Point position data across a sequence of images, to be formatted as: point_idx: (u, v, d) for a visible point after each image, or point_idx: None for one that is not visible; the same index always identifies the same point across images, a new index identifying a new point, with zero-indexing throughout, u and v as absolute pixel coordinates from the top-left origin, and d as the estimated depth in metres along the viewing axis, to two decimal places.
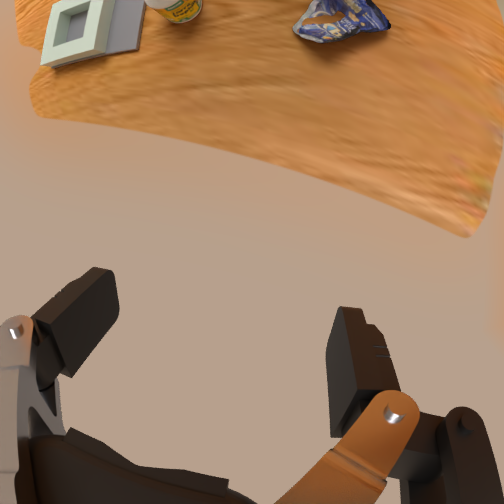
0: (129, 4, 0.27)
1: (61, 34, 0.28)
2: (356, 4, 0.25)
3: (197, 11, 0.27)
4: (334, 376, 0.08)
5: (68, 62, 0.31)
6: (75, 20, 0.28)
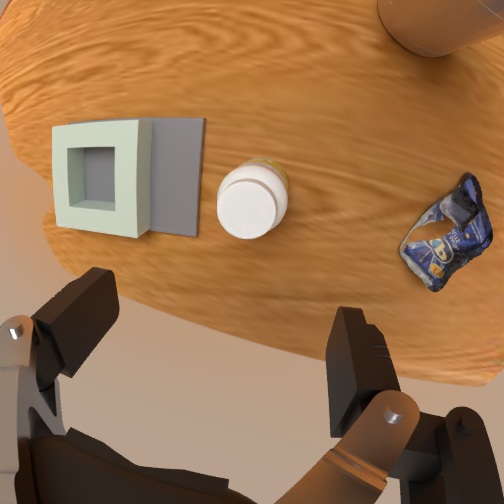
0: (176, 157, 0.27)
1: (76, 181, 0.28)
2: None
3: None
4: (334, 376, 0.08)
5: None
6: (92, 156, 0.28)
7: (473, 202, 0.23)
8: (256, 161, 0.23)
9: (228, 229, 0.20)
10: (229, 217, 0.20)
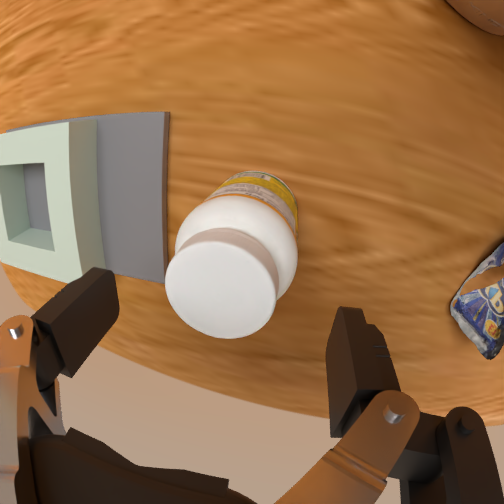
0: (129, 173, 0.18)
1: (15, 206, 0.19)
2: None
3: None
4: (334, 376, 0.08)
5: None
6: (31, 172, 0.19)
7: None
8: (244, 183, 0.14)
9: (189, 322, 0.11)
10: (188, 303, 0.10)
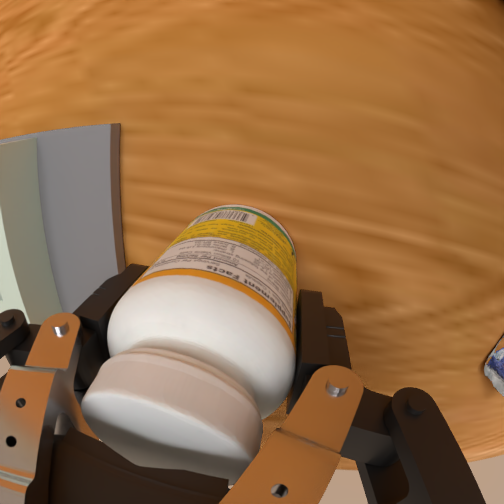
0: (74, 207, 0.13)
1: None
2: None
3: None
4: None
5: None
6: None
7: None
8: (211, 236, 0.09)
9: (132, 462, 0.06)
10: (124, 448, 0.05)
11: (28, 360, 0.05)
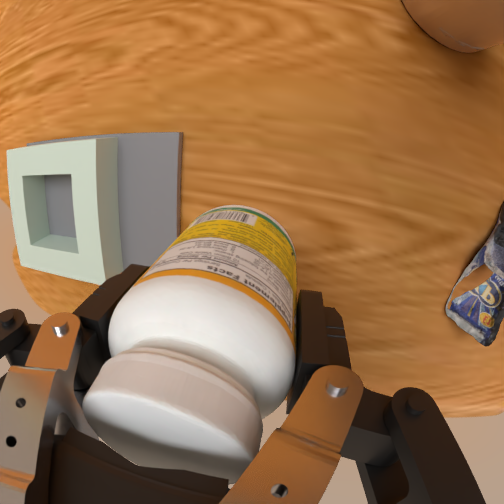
0: (147, 184, 0.21)
1: (37, 213, 0.22)
2: None
3: None
4: None
5: None
6: (53, 183, 0.22)
7: None
8: (212, 237, 0.09)
9: (133, 461, 0.06)
10: (125, 447, 0.05)
11: (28, 360, 0.05)
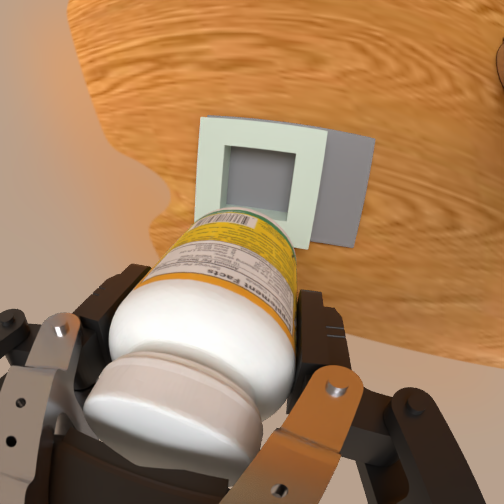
0: (346, 172, 0.28)
1: (225, 183, 0.29)
2: None
3: None
4: None
5: None
6: (243, 157, 0.29)
7: None
8: (212, 240, 0.09)
9: None
10: (126, 450, 0.05)
11: (28, 360, 0.05)
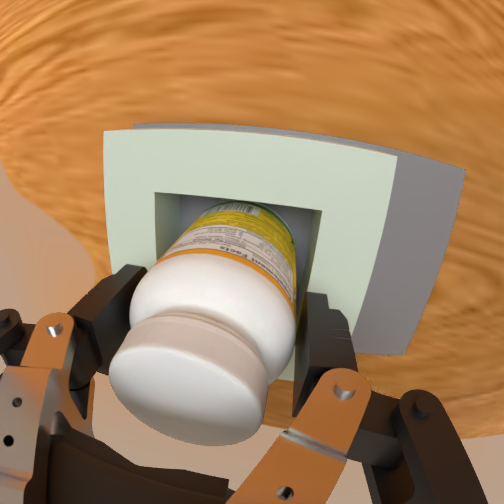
0: (411, 235, 0.13)
1: None
2: None
3: None
4: (298, 357, 0.09)
5: None
6: (205, 207, 0.14)
7: None
8: (221, 224, 0.10)
9: (150, 425, 0.07)
10: (145, 409, 0.07)
11: (23, 360, 0.05)
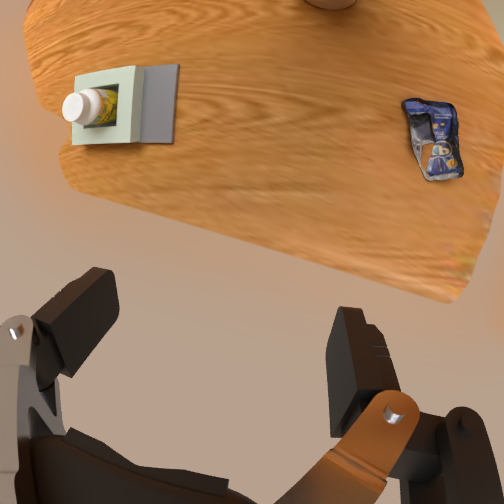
0: (159, 90, 0.36)
1: None
2: None
3: None
4: (334, 376, 0.08)
5: (100, 142, 0.40)
6: None
7: (422, 113, 0.31)
8: None
9: (66, 118, 0.30)
10: (66, 112, 0.29)
11: None
